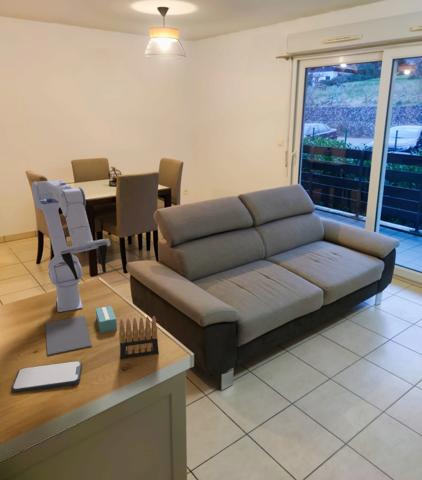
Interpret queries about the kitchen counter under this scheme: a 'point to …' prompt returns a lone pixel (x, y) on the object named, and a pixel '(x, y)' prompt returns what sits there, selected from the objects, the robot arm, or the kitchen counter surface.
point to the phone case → (47, 377)
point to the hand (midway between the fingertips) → (90, 276)
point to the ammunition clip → (138, 339)
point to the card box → (106, 319)
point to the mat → (67, 335)
